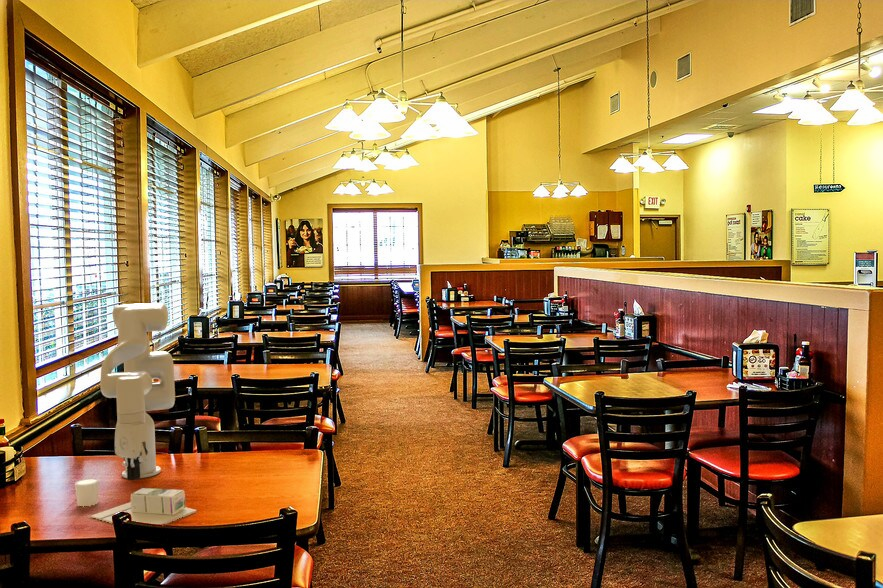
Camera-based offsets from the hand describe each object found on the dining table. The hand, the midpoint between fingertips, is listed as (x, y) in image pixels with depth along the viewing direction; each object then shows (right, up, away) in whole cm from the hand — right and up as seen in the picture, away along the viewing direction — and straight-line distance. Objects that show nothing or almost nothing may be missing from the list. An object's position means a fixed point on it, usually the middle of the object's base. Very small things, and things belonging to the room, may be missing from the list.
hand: (133, 479), depth 212 cm
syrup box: (0, -7, +1) cm, 7 cm away
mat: (+4, -10, -1) cm, 11 cm away
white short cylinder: (-18, -10, +9) cm, 23 cm away
